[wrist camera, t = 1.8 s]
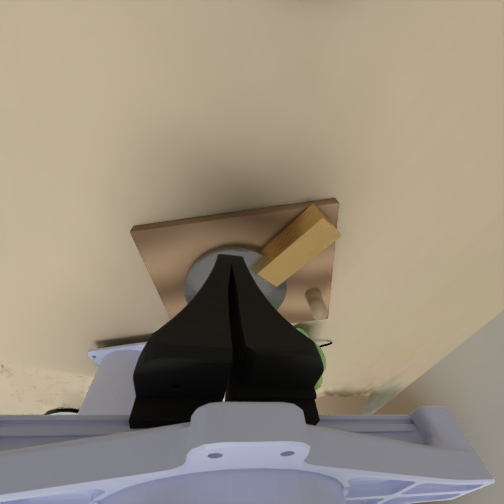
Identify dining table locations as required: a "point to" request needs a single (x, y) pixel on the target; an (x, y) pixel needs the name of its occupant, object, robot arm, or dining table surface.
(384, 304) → the dining table surface
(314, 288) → the board
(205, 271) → the pan with wooden handle
